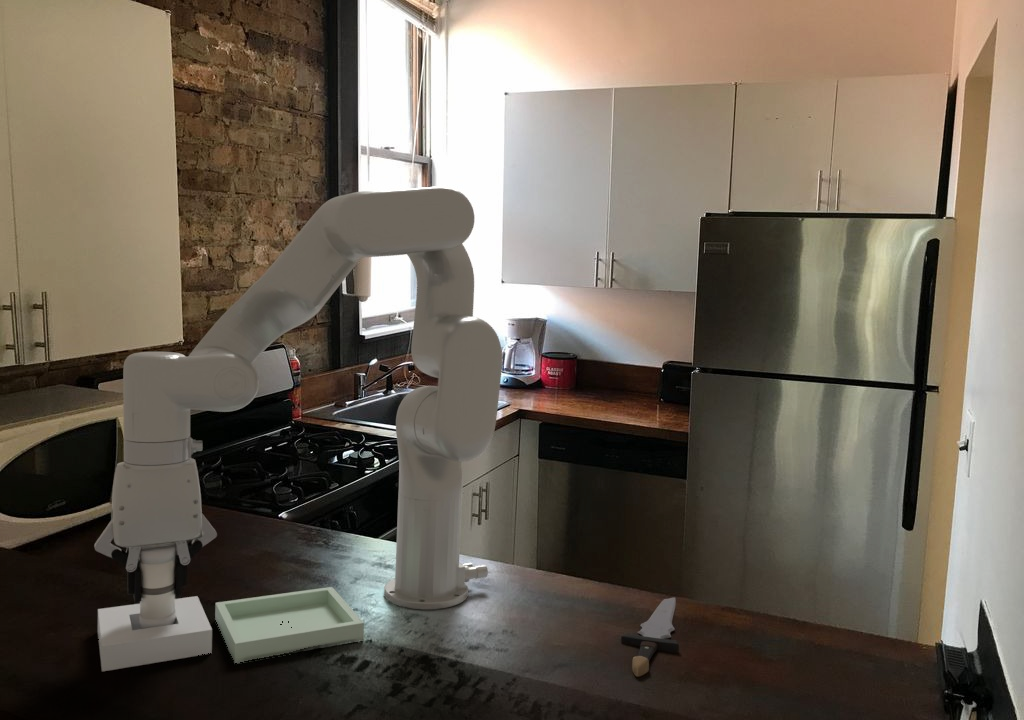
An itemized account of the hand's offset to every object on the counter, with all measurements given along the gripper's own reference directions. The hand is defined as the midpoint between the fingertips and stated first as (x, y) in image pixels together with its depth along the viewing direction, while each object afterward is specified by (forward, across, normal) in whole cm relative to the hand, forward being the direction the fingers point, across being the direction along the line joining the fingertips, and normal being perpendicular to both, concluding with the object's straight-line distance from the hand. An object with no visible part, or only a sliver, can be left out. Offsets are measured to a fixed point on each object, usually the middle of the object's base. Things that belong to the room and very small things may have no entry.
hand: (157, 594), depth 100 cm
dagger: (+8, -62, +22) cm, 67 cm away
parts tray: (+6, -16, +3) cm, 17 cm away
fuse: (+4, 0, 0) cm, 4 cm away
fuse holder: (+6, 0, 0) cm, 6 cm away
